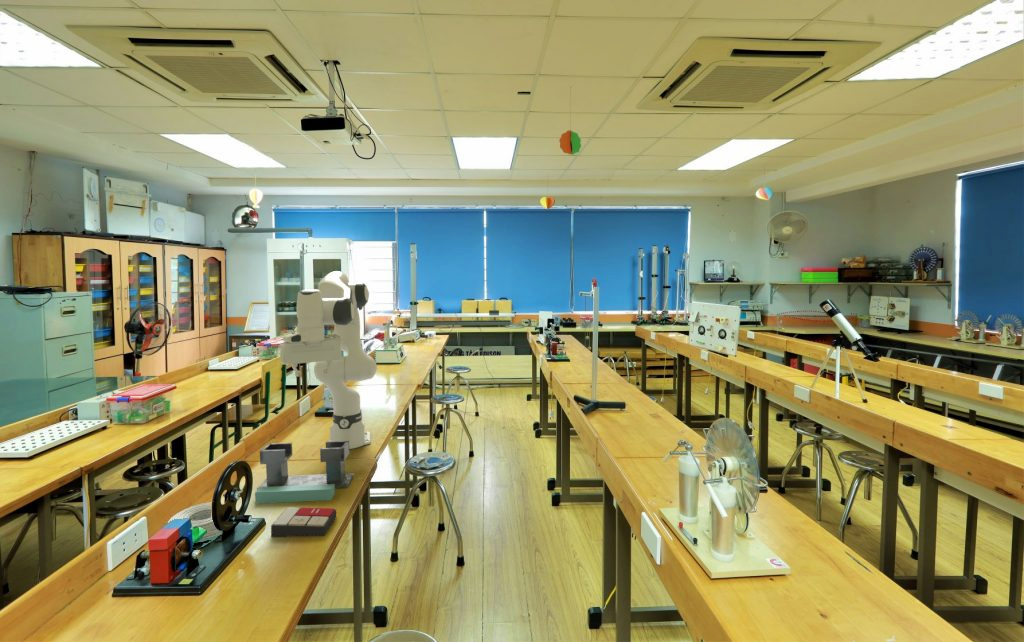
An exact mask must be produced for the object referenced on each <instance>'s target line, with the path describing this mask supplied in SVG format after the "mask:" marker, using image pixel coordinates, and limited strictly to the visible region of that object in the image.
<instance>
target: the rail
mask: <svg viewBox="0 0 1024 642" xmlns="http://www.w3.org/2000/svg"><path fill="white" fill-rule="evenodd" d="M335 489H336V488H335V486H334V484H327V485H302V486H276V487H260V488H259V489H258V490H257V489H256V491H255V492H254V499H255V500H254V501H255V504H266V503H267V504H269V503H293V502H318V500H321V501H332V500H333V499H334V497H333V496H335V495H336V490H335ZM332 498H333V499H332Z"/></svg>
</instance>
